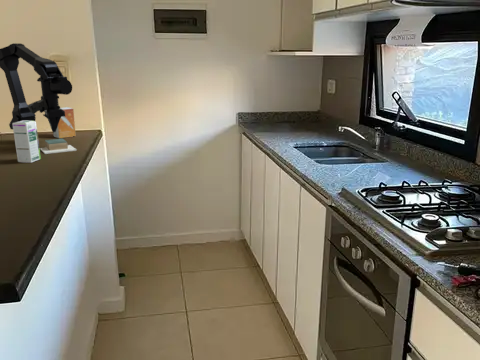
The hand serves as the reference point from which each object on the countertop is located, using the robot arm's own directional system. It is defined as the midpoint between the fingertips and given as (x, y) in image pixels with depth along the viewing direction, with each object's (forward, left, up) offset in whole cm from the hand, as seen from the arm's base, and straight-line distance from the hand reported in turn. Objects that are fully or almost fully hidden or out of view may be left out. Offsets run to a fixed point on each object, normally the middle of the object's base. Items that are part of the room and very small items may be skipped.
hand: (54, 132), depth 188 cm
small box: (-23, +9, -7) cm, 26 cm away
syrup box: (+18, -13, -7) cm, 23 cm away
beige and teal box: (-2, 0, -5) cm, 5 cm away
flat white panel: (+4, 0, -7) cm, 8 cm away
